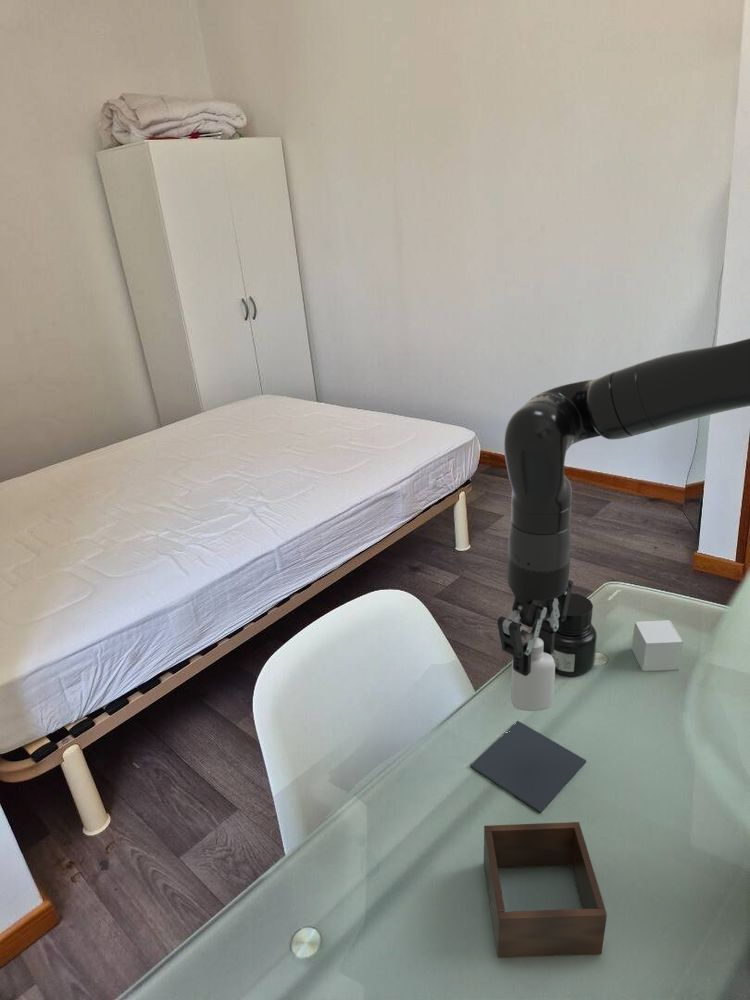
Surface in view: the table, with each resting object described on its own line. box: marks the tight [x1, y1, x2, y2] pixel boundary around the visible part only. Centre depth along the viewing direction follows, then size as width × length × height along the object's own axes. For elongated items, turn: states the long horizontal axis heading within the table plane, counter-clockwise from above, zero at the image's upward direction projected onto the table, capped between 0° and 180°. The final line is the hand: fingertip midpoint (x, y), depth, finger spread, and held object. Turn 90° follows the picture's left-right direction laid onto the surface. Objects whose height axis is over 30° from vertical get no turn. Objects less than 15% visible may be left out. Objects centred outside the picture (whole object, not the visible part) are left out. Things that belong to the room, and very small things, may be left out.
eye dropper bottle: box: [510, 638, 556, 712], centre depth 93 cm, size 4×6×12 cm
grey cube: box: [631, 619, 684, 672], centre depth 118 cm, size 6×6×6 cm
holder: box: [483, 821, 608, 958], centre depth 81 cm, size 12×12×7 cm
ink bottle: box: [551, 592, 598, 677], centre depth 118 cm, size 10×9×12 cm
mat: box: [470, 720, 587, 814], centre depth 101 cm, size 12×12×1 cm
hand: (533, 661), depth 92 cm, fingers closed on eye dropper bottle, 5 cm apart
